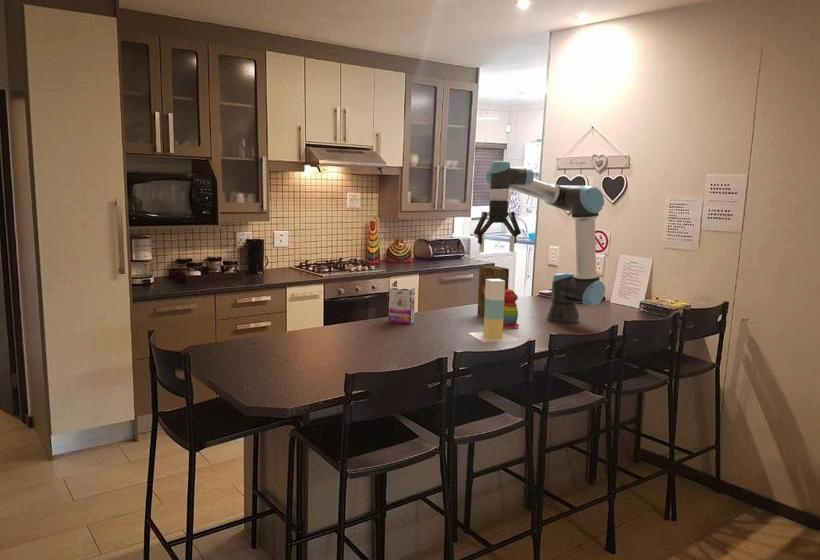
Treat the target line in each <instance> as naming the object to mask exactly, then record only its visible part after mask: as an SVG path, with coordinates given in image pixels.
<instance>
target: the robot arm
mask: <svg viewBox="0 0 820 560" xmlns="http://www.w3.org/2000/svg"><path fill="white" fill-rule="evenodd" d="M490 167H491V168H490V169H488V170H487V172H486V174H485V175H486V176H485V178H486V181H487V183H488V184H489V185H490V186H489V187H490V189H489V199H490V200H489V207H488V210H489V211H488V212H487V211H481V217H480V219H479V220H478V223H477V225H476V227H475V228H474V231H473V235H476V236H477V244H479V247H478V251H479V252H480V253H485V236H484V235H485V233H486V232H487V231H488V229H490V228H491V226H492V225H493V224H494V223H495V224H499V223H500V224H504V226H505V228H506V229H507V230H508V232H509V233H510V234H511V235H509V248H508V249H509V250H508V251H509V252H510V253H515V244H516V243H517V237H519V235H521V234H522V231H521V229H520V226H519V224H518V221H517V219H516V213H515V212H514V211H509V212H508V210H509V200H508V199H509V195H510V194H509V191H510V190H512V191H515V192H517V193H520V194H524V195H527V196H530V197H532V198H536V199H539V200H541V201H544V202H545V204H546V205H550V206H553V207H555V208H558V209H559V210H563V211H565V212H571V218H572V219H573V220H574V224H575V262H576V263H575V265H576V272H562V273H561V272H560V273H555V274H554V275H553V276H552V281H551V283H552V284H551V285H552V286H551V287H552V288H551V303H550V307H549V309H548V312H547V314H546V320H547V321H548V322H552V323H557V324H577V323H579V322H580V315H579V311H578V308H577V303H579V304H582V305H585V306H586V305H587V306H596V305H598V304H600V303H601V301H602V300H603V299H604V297H605V295H606V285H605V284H604V282H603V281H602V280H600V278H601V277H600V274H599V273H598V272H597V261H596V260H597V258H596V257H597V256H596V251H597V250H596V249H597V248H596V219H597V218H598V217H599V216H600V215H599V213H600V212H601V211H602V210H603V208H604V204H605V196H604V194H603V193H602V191H601V190H600V189H599V188H598V187H597V186H594V185H593V186H591V185H560V184H556V183H551V184H550V183H546V182H544V181H541V180H537V179H535V177H534V175H535V174H534V171H533V170H532V168H531V167H526V166H511V162H510V161H507V160H494V161H492V162H491V165H490ZM488 217H489V219H487V218H488ZM508 218H509V219H510V222H511V223H510V222H509V220H508ZM485 222H486V223H485ZM484 223H485V224H484ZM511 224H512V225H511Z"/></svg>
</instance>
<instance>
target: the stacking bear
mask: <svg viewBox="0 0 820 560" xmlns="http://www.w3.org/2000/svg"><path fill="white" fill-rule="evenodd" d="M518 299H519V296H518V294H516V292H515V291H514V290H513V289H509V288H508V289H507V290H505V294H504V319H503V329H507V330H519V327H520V325H519V323H517V322H518V318H519V310H518V306H517V303H516V302H517V300H518Z"/></svg>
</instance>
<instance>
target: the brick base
mask: <svg viewBox="0 0 820 560" xmlns="http://www.w3.org/2000/svg"><path fill="white" fill-rule="evenodd" d="M483 332H484V333H483V335H484V336H486V337H488V338H489V339H490V338H503V332H504V328H503V319H493V320H490V319H488V318H486V317H483Z"/></svg>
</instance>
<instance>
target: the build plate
mask: <svg viewBox="0 0 820 560" xmlns="http://www.w3.org/2000/svg"><path fill="white" fill-rule="evenodd" d="M483 333H484V331H479V332H477V331H476V332H468V334H469V335H471V336H472V337H474V338H475V339H477V340H479V341H480V342H482V343H492V342H493V343H494V342H495V343H496V342H510V341H519V339H518V338H516V337H514V336H513V335H511V334H508V333H506V332H505V331H503V338H490V339H489V338H488V337H486V336H484V335H483Z"/></svg>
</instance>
